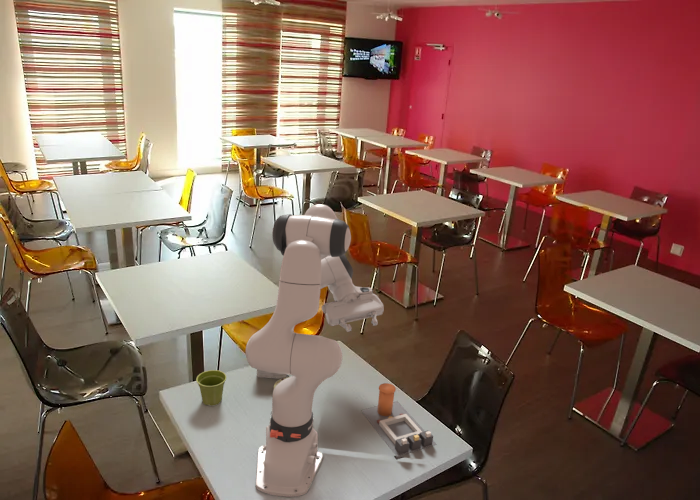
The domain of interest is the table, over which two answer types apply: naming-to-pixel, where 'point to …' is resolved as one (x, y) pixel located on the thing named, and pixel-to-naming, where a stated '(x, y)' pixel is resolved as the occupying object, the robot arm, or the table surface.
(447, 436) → the table surface
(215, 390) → the plant pot
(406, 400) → the table surface
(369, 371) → the table surface
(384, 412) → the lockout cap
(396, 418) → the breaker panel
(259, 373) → the light bulb box
